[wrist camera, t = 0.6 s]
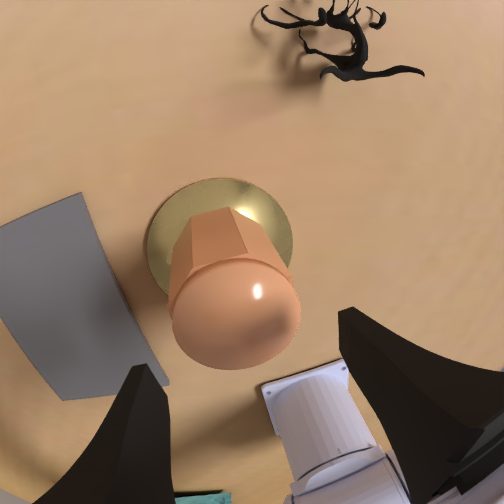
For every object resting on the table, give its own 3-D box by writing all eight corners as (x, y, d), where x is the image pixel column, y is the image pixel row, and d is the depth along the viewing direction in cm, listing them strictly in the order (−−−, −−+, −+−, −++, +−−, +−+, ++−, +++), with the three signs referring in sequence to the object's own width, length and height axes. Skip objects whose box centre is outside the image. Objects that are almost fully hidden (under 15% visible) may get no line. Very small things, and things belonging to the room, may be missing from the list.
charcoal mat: (169, 380, 23) (169, 385, 23) (63, 396, 22) (62, 400, 22) (81, 191, 16) (78, 194, 15) (-33, 243, 15) (-37, 246, 15)
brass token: (299, 290, 22) (300, 292, 21) (174, 324, 21) (174, 326, 21) (278, 161, 17) (279, 162, 17) (126, 202, 17) (125, 204, 16)
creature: (247, -10, 13) (279, 102, 15) (262, -64, 8) (311, 71, 10) (360, -9, 14) (396, 92, 16) (399, -47, 9) (451, 72, 11)
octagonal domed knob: (271, 277, 20) (306, 350, 14) (191, 299, 20) (196, 380, 14) (255, 199, 18) (292, 251, 12) (164, 223, 17) (152, 288, 11)
